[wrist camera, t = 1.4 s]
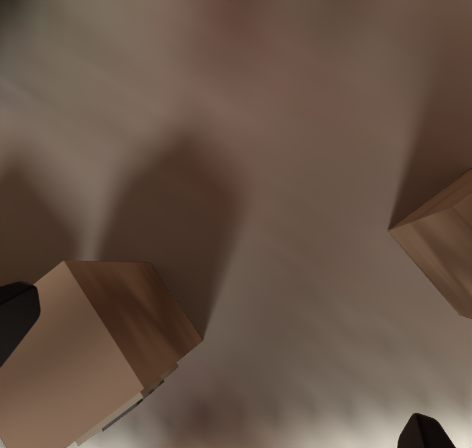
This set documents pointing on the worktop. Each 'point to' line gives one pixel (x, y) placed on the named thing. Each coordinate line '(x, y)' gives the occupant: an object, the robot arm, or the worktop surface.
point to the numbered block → (90, 352)
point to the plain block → (443, 242)
